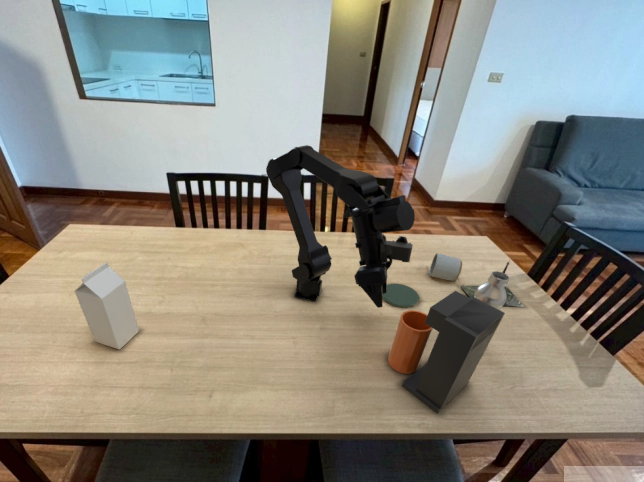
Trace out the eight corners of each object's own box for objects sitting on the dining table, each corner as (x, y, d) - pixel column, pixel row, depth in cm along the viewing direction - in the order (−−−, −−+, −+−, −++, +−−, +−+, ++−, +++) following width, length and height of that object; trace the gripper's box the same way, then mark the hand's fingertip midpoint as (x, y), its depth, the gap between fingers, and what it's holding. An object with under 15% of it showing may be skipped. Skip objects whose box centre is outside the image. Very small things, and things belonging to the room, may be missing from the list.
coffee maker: (399, 384, 78) (425, 310, 65) (430, 359, 84) (459, 287, 71) (437, 413, 72) (474, 338, 59) (467, 385, 78) (506, 311, 66)
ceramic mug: (456, 286, 110) (464, 264, 105) (429, 280, 111) (436, 259, 107) (453, 269, 118) (461, 249, 114) (428, 264, 120) (435, 244, 115)
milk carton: (139, 331, 87) (120, 265, 76) (119, 350, 82) (96, 282, 70) (116, 324, 89) (94, 258, 77) (94, 342, 83) (67, 275, 72)
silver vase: (505, 286, 111) (524, 249, 103) (524, 307, 103) (546, 268, 95) (460, 286, 110) (475, 249, 102) (475, 307, 102) (493, 267, 94)
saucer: (378, 303, 101) (379, 300, 101) (382, 282, 110) (382, 280, 109) (418, 311, 99) (419, 309, 98) (418, 289, 107) (419, 287, 107)
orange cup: (386, 369, 81) (400, 327, 73) (388, 349, 86) (401, 307, 78) (417, 377, 80) (434, 334, 72) (417, 355, 85) (433, 314, 77)
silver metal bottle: (470, 354, 86) (504, 287, 74) (449, 336, 91) (478, 271, 79) (488, 346, 89) (523, 280, 77) (466, 329, 93) (496, 265, 81)
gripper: (404, 234, 66) (417, 310, 71) (408, 219, 83) (419, 282, 87) (346, 246, 71) (363, 317, 75) (361, 229, 87) (374, 288, 91)
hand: (382, 299), depth 82 cm, fingers open, 9 cm apart
